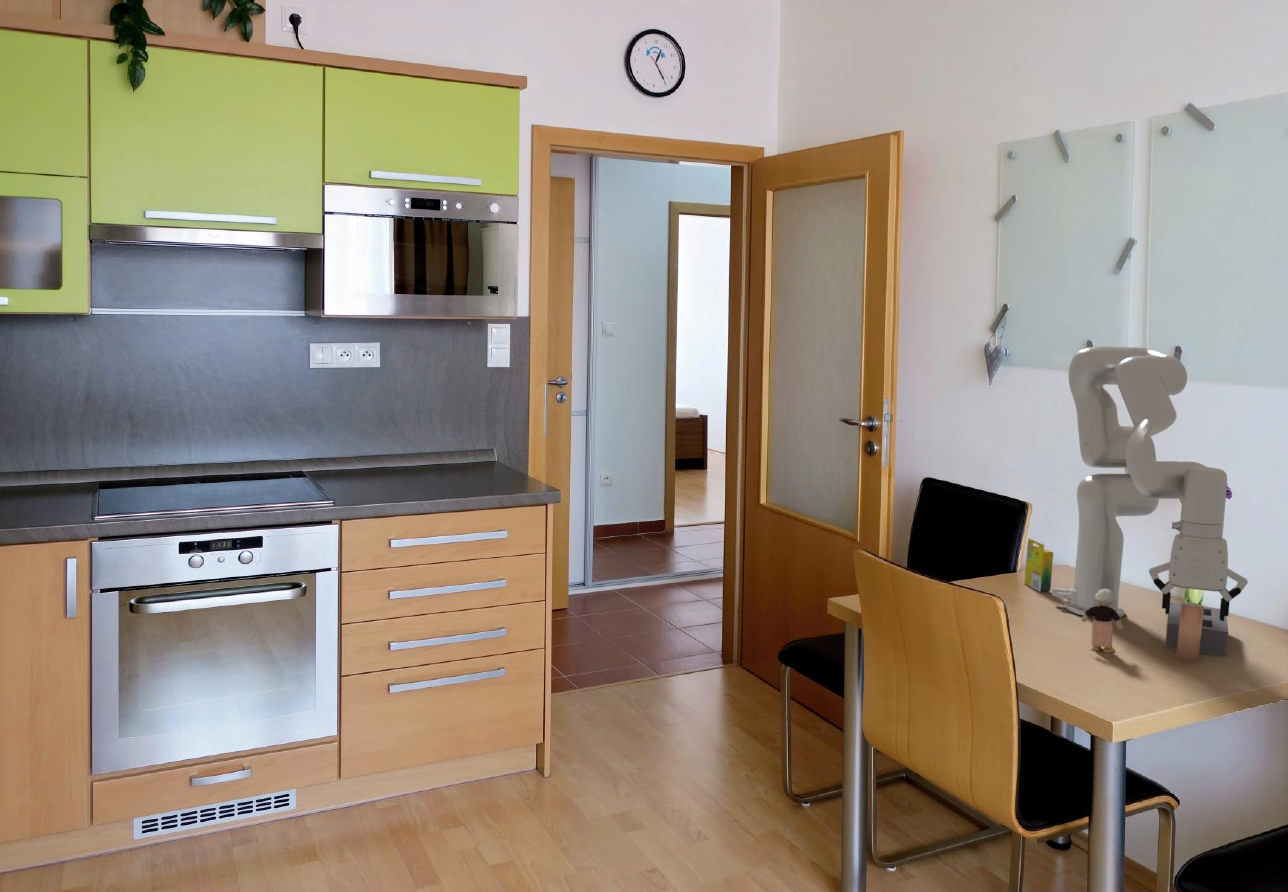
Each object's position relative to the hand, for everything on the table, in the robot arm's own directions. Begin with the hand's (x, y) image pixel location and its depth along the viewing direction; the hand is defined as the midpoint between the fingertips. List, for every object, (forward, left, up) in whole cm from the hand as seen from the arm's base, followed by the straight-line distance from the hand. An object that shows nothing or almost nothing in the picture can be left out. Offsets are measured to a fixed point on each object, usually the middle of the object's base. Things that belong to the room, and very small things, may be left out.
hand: (1194, 615), depth 215 cm
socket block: (+1, +16, -9) cm, 18 cm away
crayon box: (-33, +41, -9) cm, 53 cm away
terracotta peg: (0, +1, -9) cm, 9 cm away
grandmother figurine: (-16, -2, -9) cm, 19 cm away
